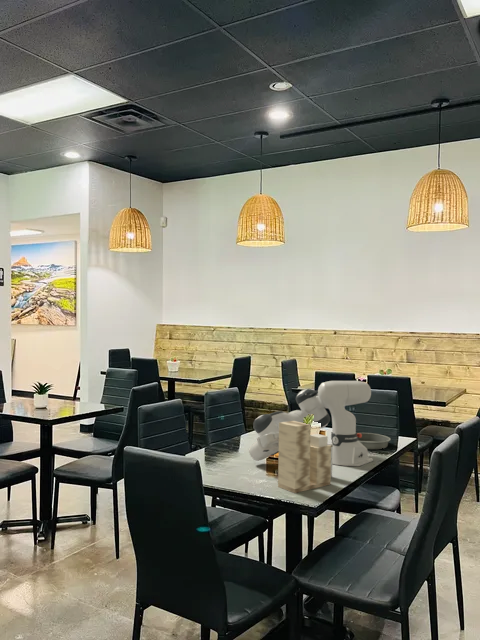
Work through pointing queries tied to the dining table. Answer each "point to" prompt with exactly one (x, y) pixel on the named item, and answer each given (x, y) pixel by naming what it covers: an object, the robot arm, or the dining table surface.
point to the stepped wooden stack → (301, 459)
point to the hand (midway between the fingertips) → (291, 431)
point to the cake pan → (374, 440)
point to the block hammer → (318, 440)
